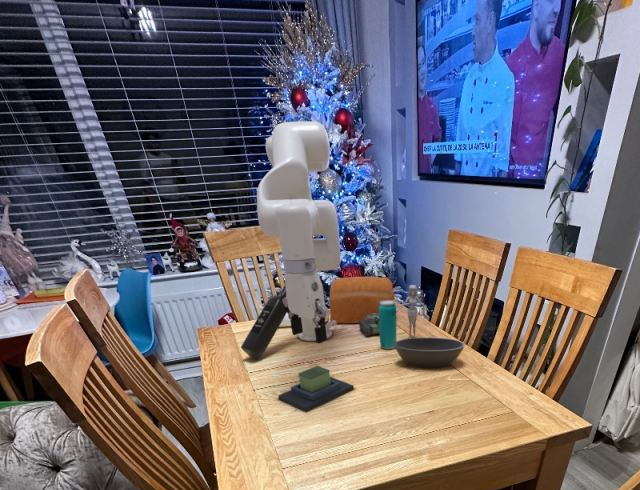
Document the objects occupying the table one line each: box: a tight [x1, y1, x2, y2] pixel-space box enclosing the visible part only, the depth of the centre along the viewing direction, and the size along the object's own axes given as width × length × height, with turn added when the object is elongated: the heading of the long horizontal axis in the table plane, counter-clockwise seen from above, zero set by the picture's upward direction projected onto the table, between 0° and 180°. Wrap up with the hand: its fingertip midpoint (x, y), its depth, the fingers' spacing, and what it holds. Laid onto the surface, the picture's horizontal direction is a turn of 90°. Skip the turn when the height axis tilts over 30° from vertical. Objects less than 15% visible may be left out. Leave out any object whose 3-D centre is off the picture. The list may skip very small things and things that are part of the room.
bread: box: [329, 276, 395, 324], centre depth 172 cm, size 14×26×16 cm, turn 88°
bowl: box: [394, 337, 465, 369], centre depth 136 cm, size 12×22×6 cm, turn 83°
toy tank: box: [358, 313, 380, 338], centre depth 162 cm, size 10×12×7 cm
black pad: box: [277, 376, 355, 413], centre depth 122 cm, size 18×12×3 cm, turn 138°
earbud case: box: [278, 313, 300, 328], centre depth 172 cm, size 10×13×5 cm
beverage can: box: [379, 300, 398, 350], centre depth 146 cm, size 6×6×15 cm
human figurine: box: [396, 284, 430, 339], centre depth 151 cm, size 12×4×18 cm, turn 93°
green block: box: [298, 365, 331, 394], centre depth 120 cm, size 7×5×6 cm
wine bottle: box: [240, 285, 287, 360], centre depth 145 cm, size 6×6×30 cm
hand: (309, 337), depth 114 cm, fingers open, 9 cm apart
